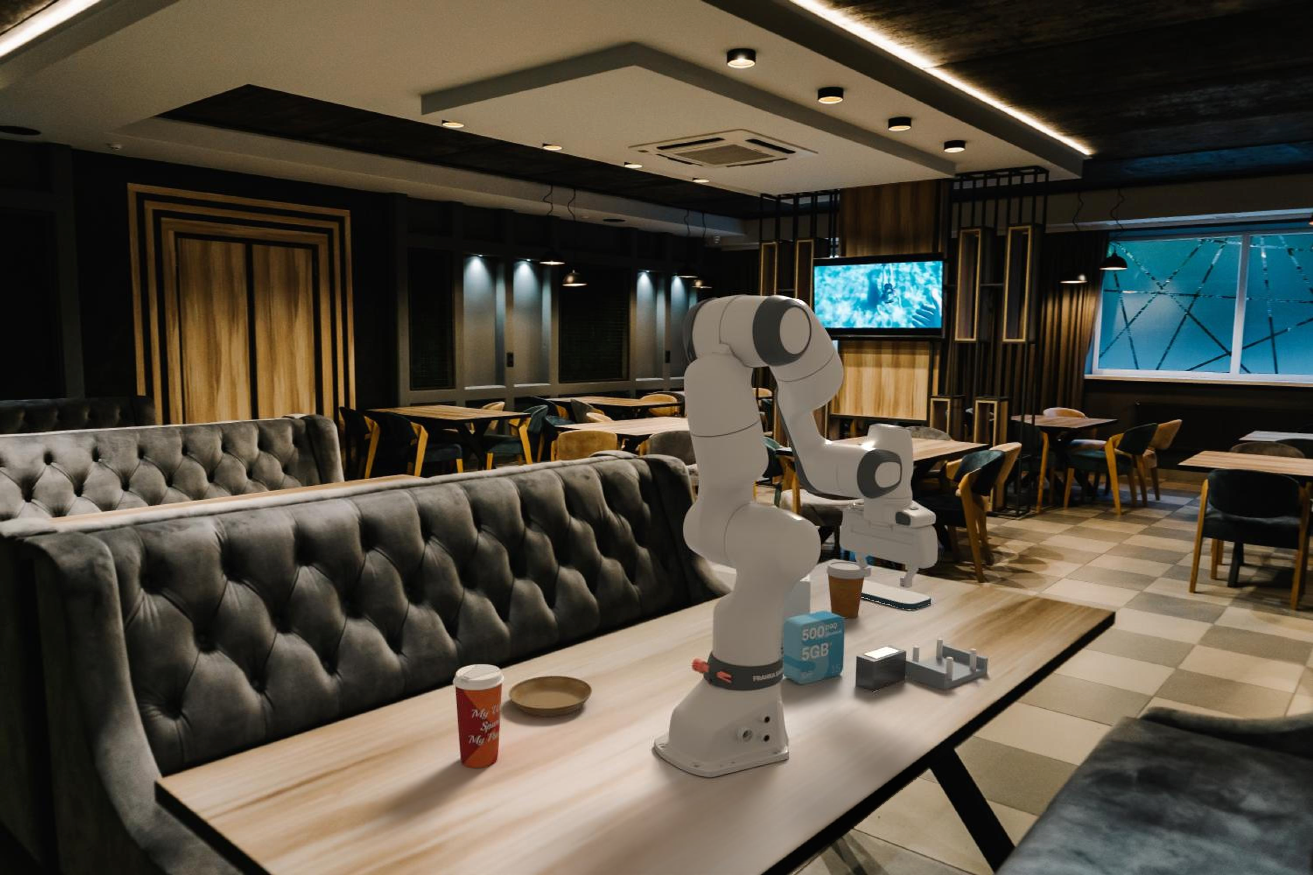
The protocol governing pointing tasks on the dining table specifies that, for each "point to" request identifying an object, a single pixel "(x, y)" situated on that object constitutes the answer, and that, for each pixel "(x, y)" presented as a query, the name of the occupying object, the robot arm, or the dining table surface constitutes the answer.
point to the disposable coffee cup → (845, 588)
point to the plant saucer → (550, 695)
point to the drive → (880, 668)
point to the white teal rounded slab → (894, 595)
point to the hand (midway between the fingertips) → (885, 581)
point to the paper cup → (478, 713)
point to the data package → (813, 647)
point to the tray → (946, 666)
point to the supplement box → (797, 602)
